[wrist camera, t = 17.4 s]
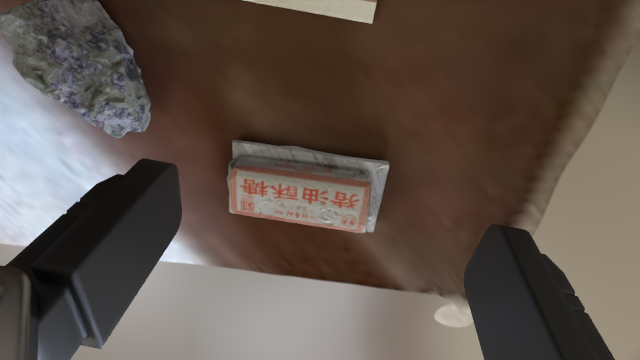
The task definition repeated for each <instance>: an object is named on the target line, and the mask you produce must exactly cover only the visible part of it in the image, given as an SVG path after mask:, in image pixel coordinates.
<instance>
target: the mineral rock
mask: <svg viewBox="0 0 640 360" xmlns="http://www.w3.org/2000/svg"><path fill="white" fill-rule="evenodd" d="M0 30H1V32H2V33H3V34H4V36H5V37H6V39H7V40H8V42H9V43H10V45H11V48H12V52H13V58H14V59H13V65H14V66H15V68H16V69H17V71H18V72H19V73H20V75H21V76H22V77H23V78H24V79H25V80H26V82H27V83H29V84H30V85H32V86H33V87H35V88H36V89H38V90H39V91H41V93H42V94H43V95H45V96H48V97H51V98H54V99H56V100H58V101H60V102H63V103H64V104H65V105H66V106H67V107H68V108H70V109H71V110H72V111H73V112H74V113H75V114H76V115H77V116H78V117H79V118H81V119H82V120H85V121H88V122H89V123H90V124H92V125H95V126H98V127H100V128H101V129H102V130H103V131H106V132H107V133H108V134H109V135H111V136H113V137H115V138H121V137H122V136H124V134H125V133H126V132H128V131H134V132H144V131H145V130H146V128H147V127H148V125H149V122H150V115H151V112H150V110H149V108H150V105H151V102H150V99H149V96H148V94H147V91H146V89H145V86H144V84H143V79H142V78H141V71H140V69H139V67H138V66H137V65H136V63H135V59H134V57H133V50H132V49H131V47H129V46H128V45H127V43H126V41H125V39H124V36H123V33H122V31H121V29H120V28H119V27H118V26H117V25H116V24H115V23H114V22H113V21H112V20H111V19H110V17H109V15H108V14H107V13H106V11H105V10H104V8H103V7H102V6H101V4H100V3H99V1H97V0H33V1H31V2H27V3H23V4H21V5H17V6H14V7H12V8H10V9H8V10H5V11H3V12H1V13H0Z"/></svg>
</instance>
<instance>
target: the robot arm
mask: <svg viewBox="0 0 640 360" xmlns="http://www.w3.org/2000/svg"><path fill="white" fill-rule="evenodd" d="M181 217H182V206H181V196H180V187H179V177H178V170H177V167H176V165H175V164H172V163H167V162H161V161H156V160H151V159H145V158H144V159H141V160H139V161H138V162H137V163H136V164H135V165H134V166H133V167H132V168H131V169H130V170H129V171H128V172H127V173H126V174H125V175H120V174H117V175H115V176H112V177H110V178H108V179H106V180H104V181H102V182H100V183H98V184H96V185H95V186H94V187H93V188H92V189H90V190H89V191H88V192H87V193H86V194H85V195H84V196H83V197H82V198H80V202H76V203H75V204H74V205H73V206H72V207H70V208H69V209H68V210H67V213H66V214H63V215H62V216H60V217H59V218H58V219H57V220H56V221H55V222H54V223H53V224H52V225H50V226H49V227H48V228H47V229H46V230H45V231H44V232H43V233H42V234H40V235H39V236H38V237H37V238H36V239H35V240H34V241H33V242H32V243H30V244H29V245H28V246H27V247H26V248H25V249H24V250H23V251H22V252H21V253H19V254H18V255H17V256H16V257H15V258H14V259H13V260H12V261H10V262H9V263H8V264H7V265H6V266H0V360H70V359H71V358H72V356H73V355H74V353H75V352H76V351H77V349H78V348H79V346H80V345H83V346H88V347H93V348H99V349H101V348H102V346H103V345H104V343H105V342H106V341H107V339H108V337H109V336H110V334H111V333H112V331H113V329H114V328H115V326H116V325H117V324H118V322H119V321H120V319H121V317H122V316H123V314H124V313H125V311H126V310H127V308H128V307H129V305H130V304H131V302H132V301H133V299H134V298H135V296H136V294H137V293H138V291H139V290H140V288H141V287H142V285H143V284H144V282H145V281H146V279H147V277H148V276H149V274H150V273H151V271H152V270H153V268H154V267H155V265H156V264H157V262H158V261H159V259H160V258H161V256H162V255H163V253H164V251H165V250H166V248H167V247H168V245H169V244H170V242H171V241H172V239H173V238H174V236H175V235H176V233H177V231H178V228H179V226H180V222H181ZM464 288H465V292H466V295H467V299H468V303H469V306H470V310H471V313H472V317H473V320H474V324H475V328H476V331H477V334H478V338H479V342H480V346H481V349H482V353H483V356H484V360H615V359H614V358H613V356H612V354H611V352H610V351H609V349H608V347H607V345H606V344H605V342H604V340H603V339H602V337H601V335H600V334H599V332H598V330H597V328H596V327H595V325H594V324H593V322H592V320H591V318H590V317H589V315H588V314H587V313H585V312H584V310H585V308H584V306H583V305H582V303H581V301H580V300H579V298H578V297H577V296H575V291H574V289H573V288H572V286H571V284H570V283H569V281H568V279H567V278H566V276H565V274H564V273H563V272H562V271H561V270H560V269H559V268H558V267H557V266H556V265H555V264H554V263H553V262H552V261H551V260H550V259H549V258H548V257H547V256H546V255H545V254H541V253H540V251H539V249H538V247H537V246H536V244H535V242H534V240H533V238H532V237H531V235H530V233H529V232H528V231H526V230H524V229H518V228H513V227H507V226H502V225H497V224H493V225H491V226H490V227H489V228H488V229H487V231H486V232H485V234H484V236H483V238H482V239H481V241H480V243H479V245H478V246H477V248H476V250H475V252H474V254H473V255H472V257H471V259H470V261H469V262H468V264H467V266H466V269H465V274H464Z"/></svg>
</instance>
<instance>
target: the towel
mask: <svg viewBox="0 0 640 360" xmlns="http://www.w3.org/2000/svg"><path fill="white" fill-rule="evenodd" d="M244 1H250V2H255V3H261V4H266V5H272V6H277V7H283V8H288V9H294V10H299V11H305V12H310V13H316V14H321V15H327V16H333V17H338V18H344V19H349V20H355V21H360V22H366V23H372V22H373V17H374V12H375V8H376V3H377V0H244Z"/></svg>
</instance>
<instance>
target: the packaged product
mask: <svg viewBox="0 0 640 360" xmlns="http://www.w3.org/2000/svg"><path fill="white" fill-rule="evenodd" d="M232 149H233V161H231V162H230V163H229V166H228V170H229V174H228V176H227V183H228V188H229V200H228V201H229V212H230V213H236V214H242V215H246V216H253V217H260V218H266V219H273V220H279V221H285V222H292V223H299V224H305V225H311V226H319V227H325V228H332V229H338V230H345V231H350V232H356V233H364V232H366V231H367V232H373V231H374V227H375V223H376V219H377V215H378V211H379V207H380V203H381V199H382V195H383V191H384V187H385V182H386V178H387V174H388V169H389V166H390V165H389V162H388V161H381V160H373V159H364V158H356V157H349V156H342V155H337V154H331V153H325V152H320V151H314V150H310V149H306V148H302V147H298V146H275V145H269V144H262V143H255V142H248V141H241V140H233V141H232Z"/></svg>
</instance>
